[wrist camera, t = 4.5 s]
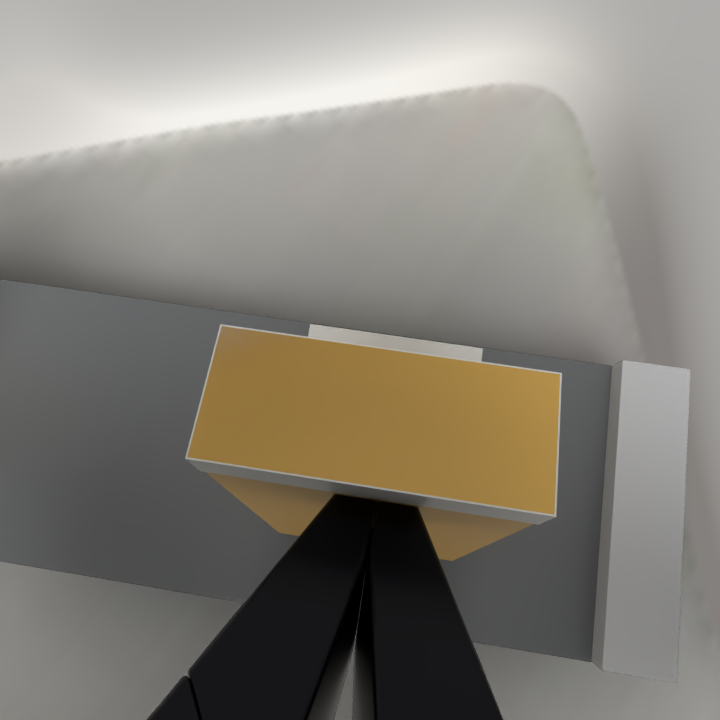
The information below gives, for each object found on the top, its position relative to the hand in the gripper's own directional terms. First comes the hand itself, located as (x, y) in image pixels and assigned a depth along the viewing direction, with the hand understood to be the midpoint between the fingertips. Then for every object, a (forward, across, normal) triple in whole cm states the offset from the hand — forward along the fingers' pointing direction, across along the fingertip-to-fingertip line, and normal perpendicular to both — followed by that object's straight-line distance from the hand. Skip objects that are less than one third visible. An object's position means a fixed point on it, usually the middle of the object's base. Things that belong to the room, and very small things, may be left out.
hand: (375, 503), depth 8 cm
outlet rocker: (+4, 0, +5) cm, 7 cm away
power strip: (+8, +6, +8) cm, 13 cm away
